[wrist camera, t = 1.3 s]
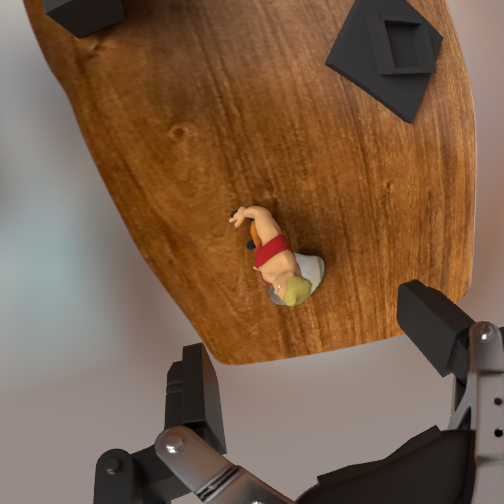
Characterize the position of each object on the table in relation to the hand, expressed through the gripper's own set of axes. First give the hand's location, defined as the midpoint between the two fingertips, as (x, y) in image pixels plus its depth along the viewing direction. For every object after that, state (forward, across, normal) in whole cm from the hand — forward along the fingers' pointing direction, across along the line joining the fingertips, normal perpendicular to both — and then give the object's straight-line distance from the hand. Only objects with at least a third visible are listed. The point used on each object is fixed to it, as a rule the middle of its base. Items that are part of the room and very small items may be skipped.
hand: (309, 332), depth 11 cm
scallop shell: (+26, -5, +12) cm, 29 cm away
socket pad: (+25, -23, -15) cm, 37 cm away
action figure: (+25, 0, +4) cm, 25 cm away
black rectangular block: (+21, +10, -24) cm, 34 cm away
